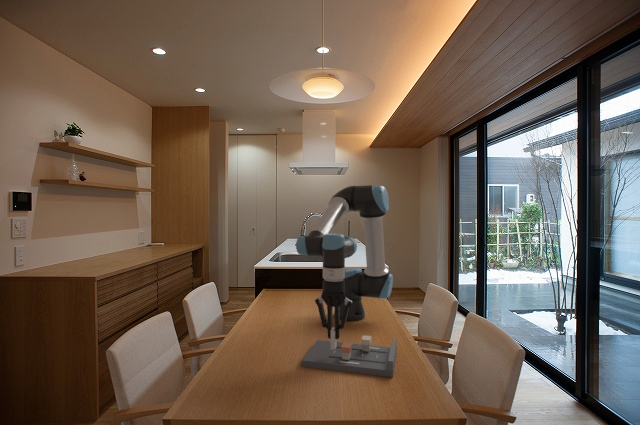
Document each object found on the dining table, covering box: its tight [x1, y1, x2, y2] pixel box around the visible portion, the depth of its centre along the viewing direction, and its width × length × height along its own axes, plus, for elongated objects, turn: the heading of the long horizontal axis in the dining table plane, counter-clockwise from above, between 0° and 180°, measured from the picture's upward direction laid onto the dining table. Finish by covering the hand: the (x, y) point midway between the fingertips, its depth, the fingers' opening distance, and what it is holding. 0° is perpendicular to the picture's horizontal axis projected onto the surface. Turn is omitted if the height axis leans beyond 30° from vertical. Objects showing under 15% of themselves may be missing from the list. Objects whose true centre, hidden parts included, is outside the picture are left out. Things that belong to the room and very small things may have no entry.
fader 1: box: [341, 341, 353, 360], centre depth 126 cm, size 4×3×4 cm
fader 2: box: [360, 335, 372, 352], centre depth 133 cm, size 4×3×4 cm
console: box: [301, 338, 398, 378], centre depth 130 cm, size 20×30×5 cm, turn 75°
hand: (333, 347), depth 128 cm, fingers closed
